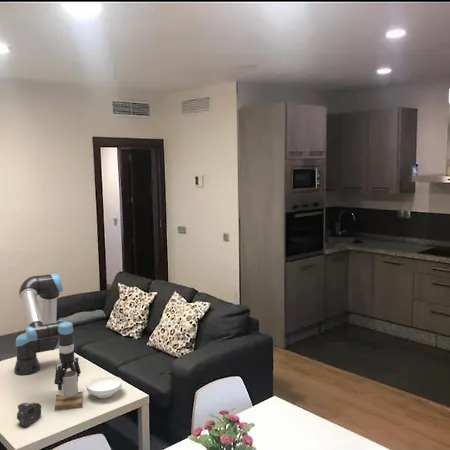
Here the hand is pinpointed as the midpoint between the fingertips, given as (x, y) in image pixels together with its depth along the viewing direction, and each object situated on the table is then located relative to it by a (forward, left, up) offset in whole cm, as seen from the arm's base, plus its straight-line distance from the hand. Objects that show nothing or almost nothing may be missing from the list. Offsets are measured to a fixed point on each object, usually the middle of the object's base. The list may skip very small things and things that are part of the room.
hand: (68, 391), depth 260 cm
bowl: (-4, +19, -7) cm, 21 cm away
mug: (-1, 0, -1) cm, 1 cm away
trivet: (0, 0, -7) cm, 7 cm away
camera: (+14, -19, -7) cm, 25 cm away
